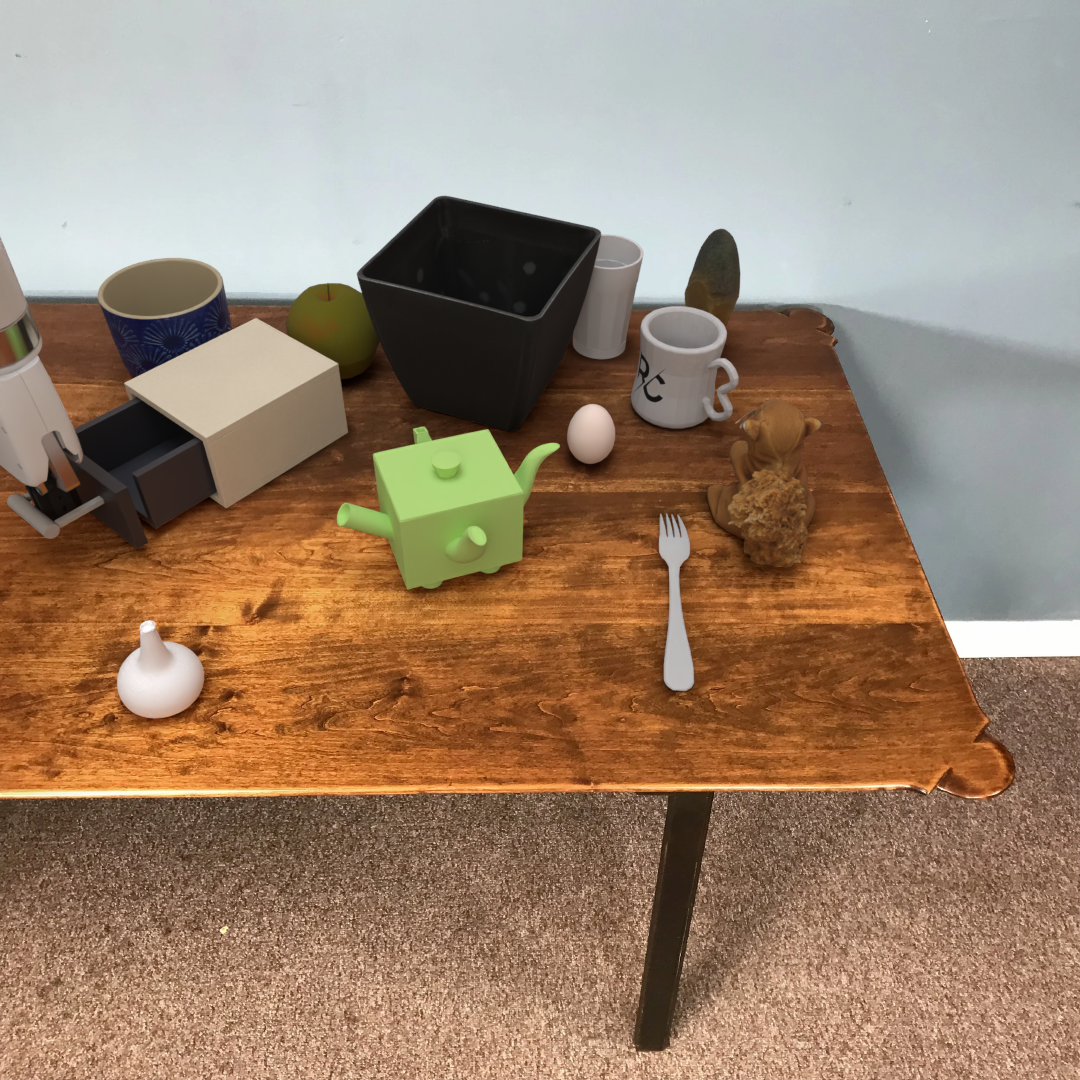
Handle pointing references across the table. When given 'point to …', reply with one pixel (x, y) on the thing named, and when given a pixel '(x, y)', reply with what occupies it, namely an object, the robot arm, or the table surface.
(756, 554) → the stuffed squirrel
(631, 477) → the table surface
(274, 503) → the table surface
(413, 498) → the kettle
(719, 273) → the decorative stone
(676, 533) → the fork
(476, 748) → the table surface
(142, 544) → the drawer
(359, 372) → the apple
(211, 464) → the cabinet
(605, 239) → the cup
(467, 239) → the flower pot
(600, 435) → the egg
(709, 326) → the mug
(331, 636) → the table surface
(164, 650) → the garlic bulb
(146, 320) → the planter
